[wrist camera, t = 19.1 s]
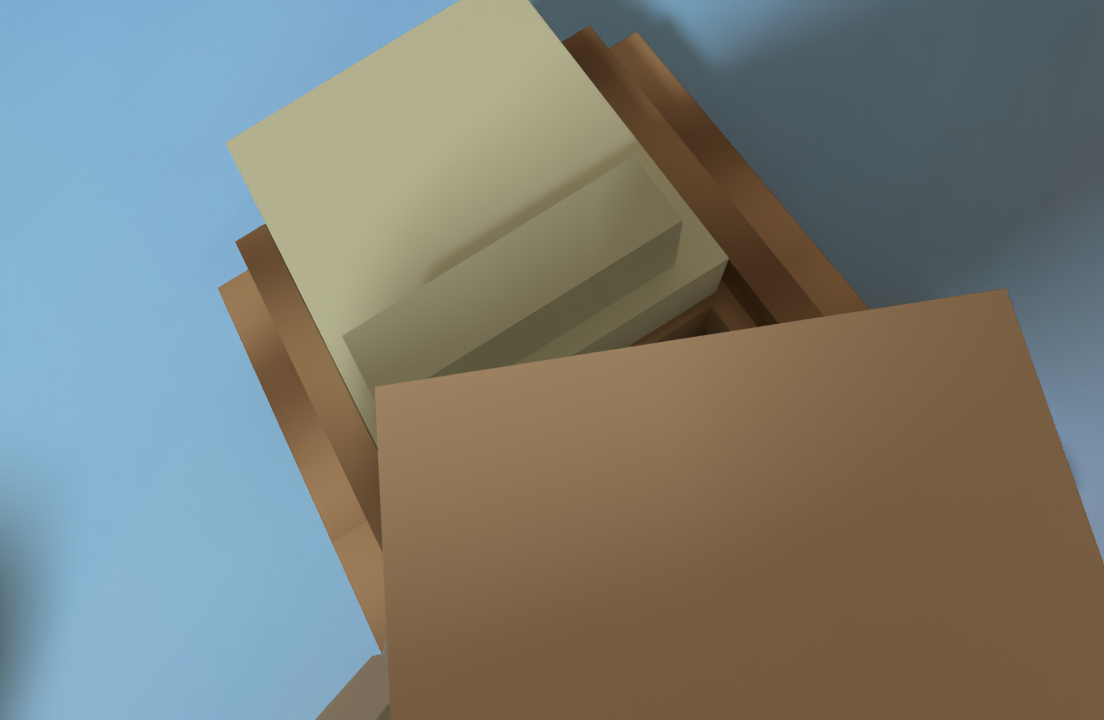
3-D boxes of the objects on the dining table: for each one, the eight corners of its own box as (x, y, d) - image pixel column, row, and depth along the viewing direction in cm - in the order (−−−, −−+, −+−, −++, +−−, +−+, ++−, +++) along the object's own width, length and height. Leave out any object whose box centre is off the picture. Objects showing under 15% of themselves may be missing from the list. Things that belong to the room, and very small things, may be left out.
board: (1045, 601, 14) (1186, 633, 10) (554, 915, 14) (527, 1056, 10) (636, 91, 19) (636, -4, 15) (270, 316, 19) (186, 271, 15)
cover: (716, 291, 14) (747, 211, 10) (422, 474, 14) (341, 462, 10) (520, 33, 17) (487, -108, 13) (272, 184, 17) (164, 87, 13)
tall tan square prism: (787, 657, 13) (1311, 1152, 3) (572, 679, 13) (412, 1178, 3) (741, 440, 14) (1006, 288, 4) (547, 467, 14) (374, 386, 5)
